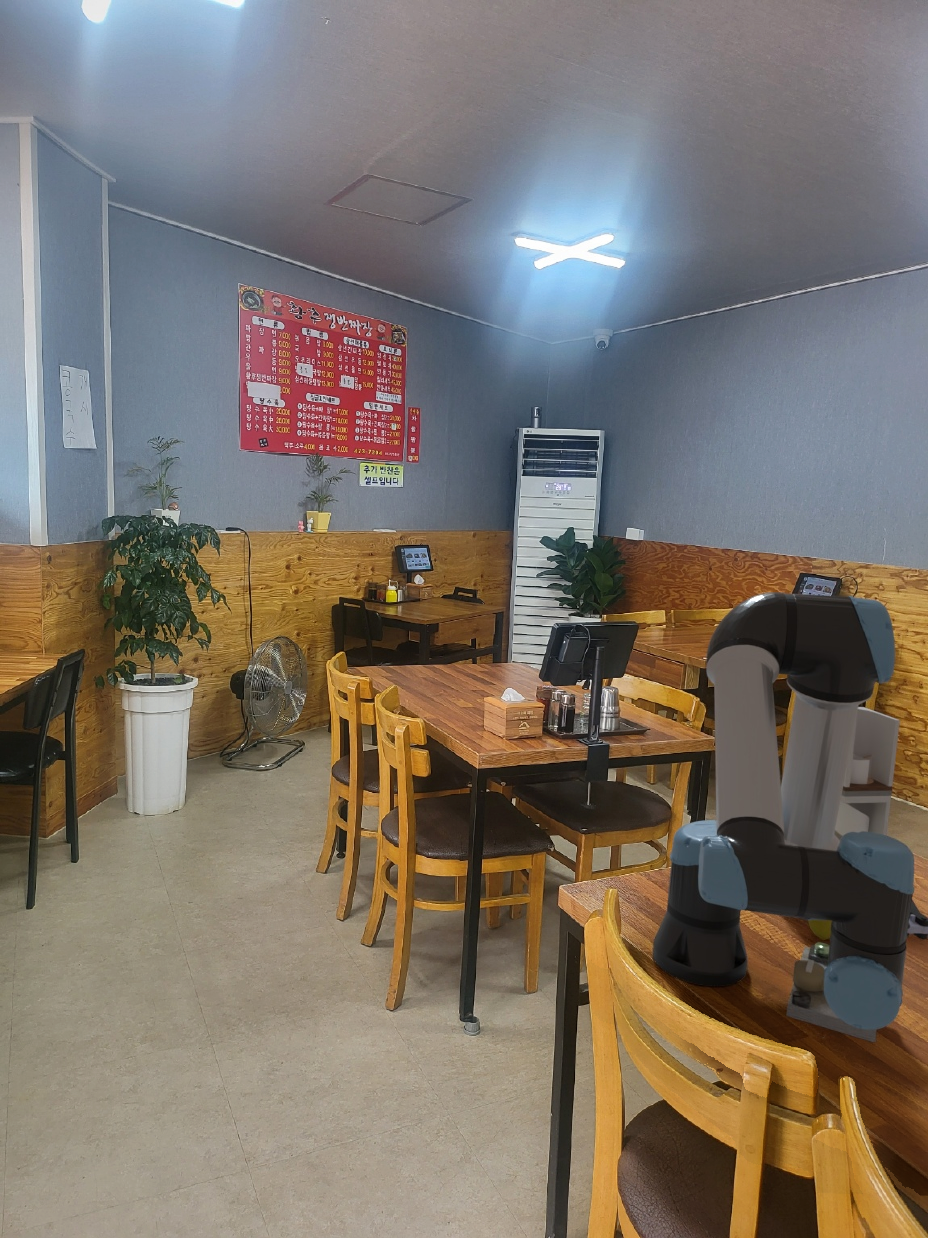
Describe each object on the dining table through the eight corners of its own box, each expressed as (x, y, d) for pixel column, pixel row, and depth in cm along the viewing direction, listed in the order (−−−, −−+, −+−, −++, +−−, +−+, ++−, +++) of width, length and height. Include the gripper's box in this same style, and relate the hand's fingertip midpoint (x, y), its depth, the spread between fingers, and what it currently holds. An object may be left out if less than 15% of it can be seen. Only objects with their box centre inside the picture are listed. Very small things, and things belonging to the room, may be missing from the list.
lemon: (841, 938, 151) (846, 896, 150) (837, 951, 146) (842, 907, 145) (808, 929, 154) (813, 887, 153) (803, 942, 149) (808, 899, 148)
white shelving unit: (803, 864, 184) (818, 706, 180) (846, 862, 186) (863, 707, 182) (834, 887, 173) (852, 720, 168) (881, 885, 175) (899, 720, 170)
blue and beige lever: (791, 986, 130) (798, 913, 129) (794, 973, 134) (802, 902, 133) (886, 1013, 124) (894, 937, 123) (887, 999, 128) (895, 925, 126)
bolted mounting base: (875, 1043, 121) (878, 1018, 120) (786, 1016, 126) (788, 992, 126) (881, 978, 138) (884, 957, 138) (803, 957, 144) (805, 936, 143)
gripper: (808, 954, 105) (827, 886, 126) (926, 986, 99) (926, 909, 120) (814, 897, 104) (832, 838, 125) (934, 925, 98) (932, 859, 119)
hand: (878, 873), depth 122 cm, fingers closed
